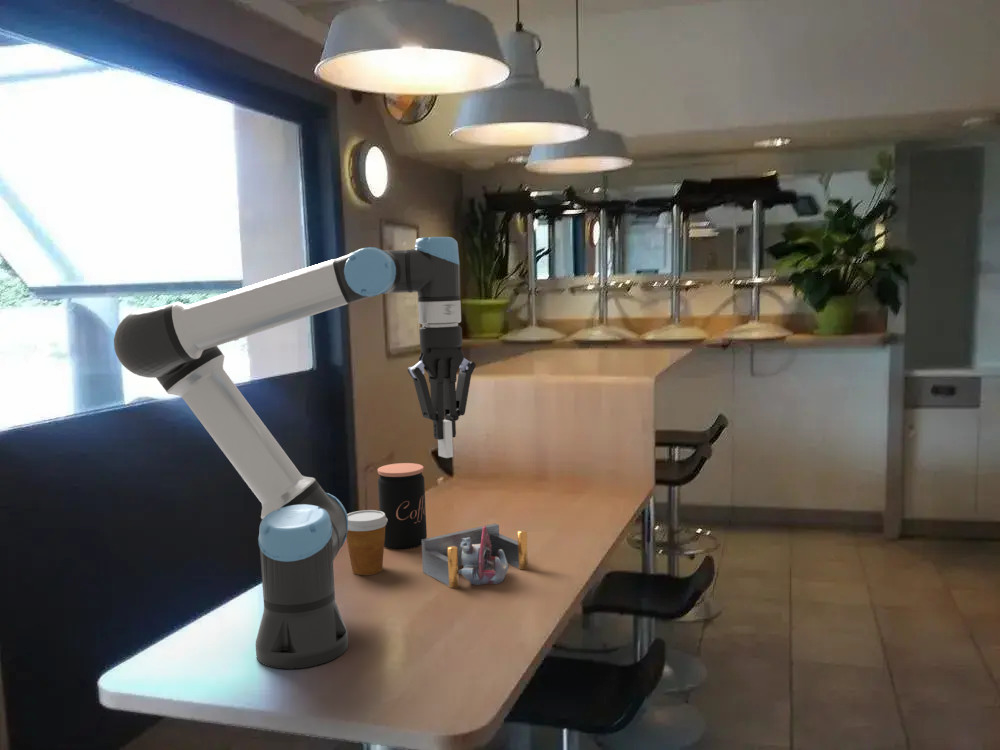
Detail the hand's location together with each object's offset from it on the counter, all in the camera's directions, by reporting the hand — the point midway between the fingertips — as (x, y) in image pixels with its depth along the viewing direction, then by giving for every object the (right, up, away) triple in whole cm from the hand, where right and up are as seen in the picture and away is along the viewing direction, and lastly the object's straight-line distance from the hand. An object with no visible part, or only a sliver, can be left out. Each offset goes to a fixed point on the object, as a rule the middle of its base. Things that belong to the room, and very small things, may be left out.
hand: (445, 456), depth 157 cm
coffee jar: (-13, -25, +47) cm, 55 cm away
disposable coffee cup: (-18, -27, +29) cm, 44 cm away
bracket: (+5, -26, +26) cm, 38 cm away
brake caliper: (+6, -27, +21) cm, 35 cm away
